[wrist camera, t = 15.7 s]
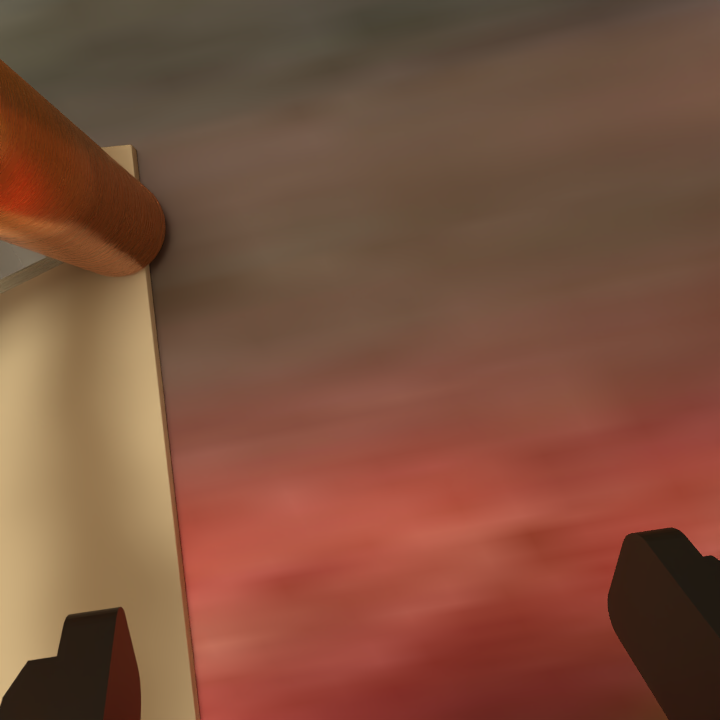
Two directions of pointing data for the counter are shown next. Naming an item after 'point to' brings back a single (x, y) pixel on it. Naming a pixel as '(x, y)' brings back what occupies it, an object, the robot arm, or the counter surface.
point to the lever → (65, 196)
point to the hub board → (90, 476)
